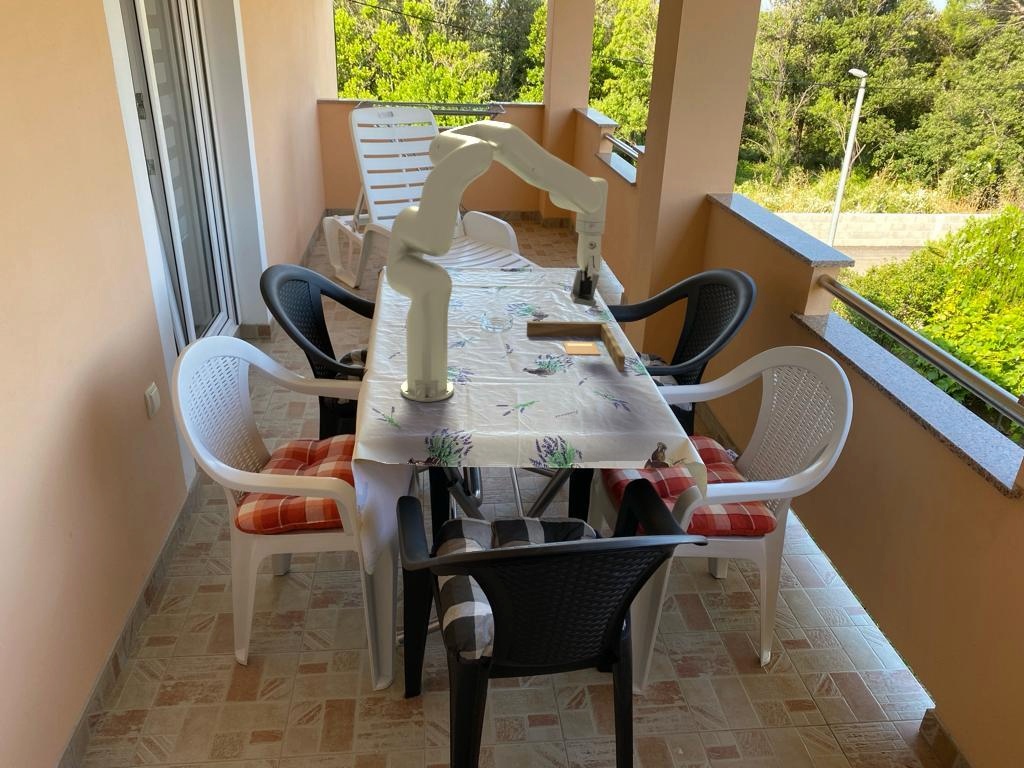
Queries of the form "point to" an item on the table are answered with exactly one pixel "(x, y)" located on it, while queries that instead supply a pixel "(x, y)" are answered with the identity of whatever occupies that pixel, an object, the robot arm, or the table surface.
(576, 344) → the pad
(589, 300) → the bracket
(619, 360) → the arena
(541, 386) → the table surface
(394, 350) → the table surface
